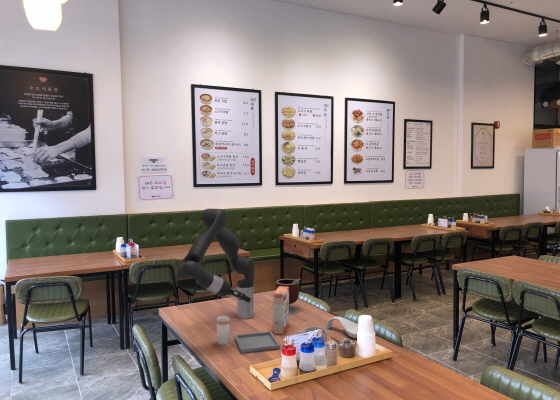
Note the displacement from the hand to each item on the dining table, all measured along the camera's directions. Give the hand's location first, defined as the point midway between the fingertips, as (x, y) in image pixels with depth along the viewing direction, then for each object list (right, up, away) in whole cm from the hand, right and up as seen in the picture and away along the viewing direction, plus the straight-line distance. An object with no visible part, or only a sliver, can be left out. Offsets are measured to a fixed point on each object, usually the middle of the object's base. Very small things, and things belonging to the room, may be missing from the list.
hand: (245, 299), depth 210 cm
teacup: (+31, -21, -5) cm, 38 cm away
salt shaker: (-11, -21, +1) cm, 23 cm away
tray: (+5, -21, -1) cm, 21 cm away
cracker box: (+17, -19, +17) cm, 31 cm away
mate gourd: (+21, -17, +47) cm, 55 cm away
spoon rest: (+50, -20, +12) cm, 55 cm away
